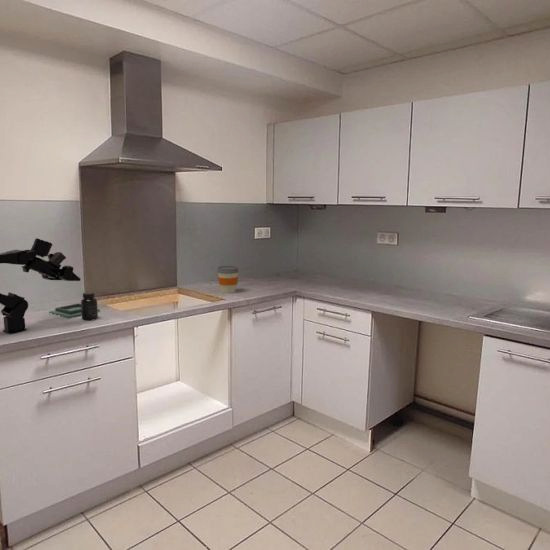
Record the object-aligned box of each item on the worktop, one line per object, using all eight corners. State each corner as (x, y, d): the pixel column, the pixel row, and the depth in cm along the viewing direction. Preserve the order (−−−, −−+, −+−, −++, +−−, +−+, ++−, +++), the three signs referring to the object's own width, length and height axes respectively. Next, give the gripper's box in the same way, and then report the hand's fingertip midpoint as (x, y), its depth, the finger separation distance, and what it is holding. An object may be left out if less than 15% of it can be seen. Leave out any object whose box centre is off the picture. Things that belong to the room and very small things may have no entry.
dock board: (69, 318, 195) (68, 313, 195) (49, 313, 204) (48, 308, 203) (99, 311, 209) (99, 306, 208) (79, 306, 217) (79, 302, 217)
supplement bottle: (78, 319, 195) (77, 293, 193) (92, 316, 200) (90, 290, 198) (87, 321, 191) (86, 295, 189) (101, 318, 196) (99, 292, 194)
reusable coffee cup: (237, 294, 254) (237, 269, 251) (216, 293, 254) (216, 268, 251) (239, 290, 266) (239, 266, 264) (219, 289, 266) (218, 265, 264)
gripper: (60, 248, 178) (92, 263, 190) (37, 249, 189) (69, 263, 201) (50, 273, 175) (83, 286, 187) (28, 272, 186) (60, 285, 198)
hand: (74, 279), depth 193 cm, fingers open, 9 cm apart
